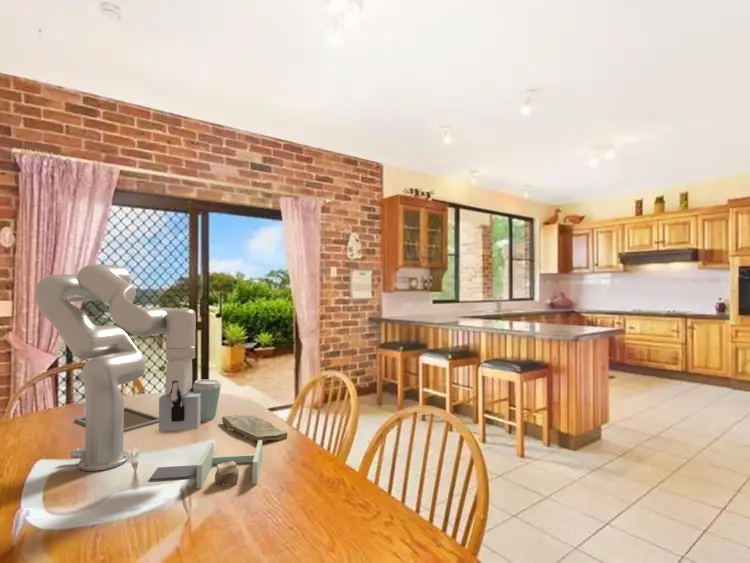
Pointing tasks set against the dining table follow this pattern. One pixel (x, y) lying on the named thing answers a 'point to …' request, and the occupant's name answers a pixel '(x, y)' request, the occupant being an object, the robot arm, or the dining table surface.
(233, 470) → the offcut
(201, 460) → the rack
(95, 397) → the robot arm
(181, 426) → the tall grey upright block
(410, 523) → the dining table surface
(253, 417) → the stone slab
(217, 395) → the disposable coffee cup
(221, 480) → the offcut
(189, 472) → the panel
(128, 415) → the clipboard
